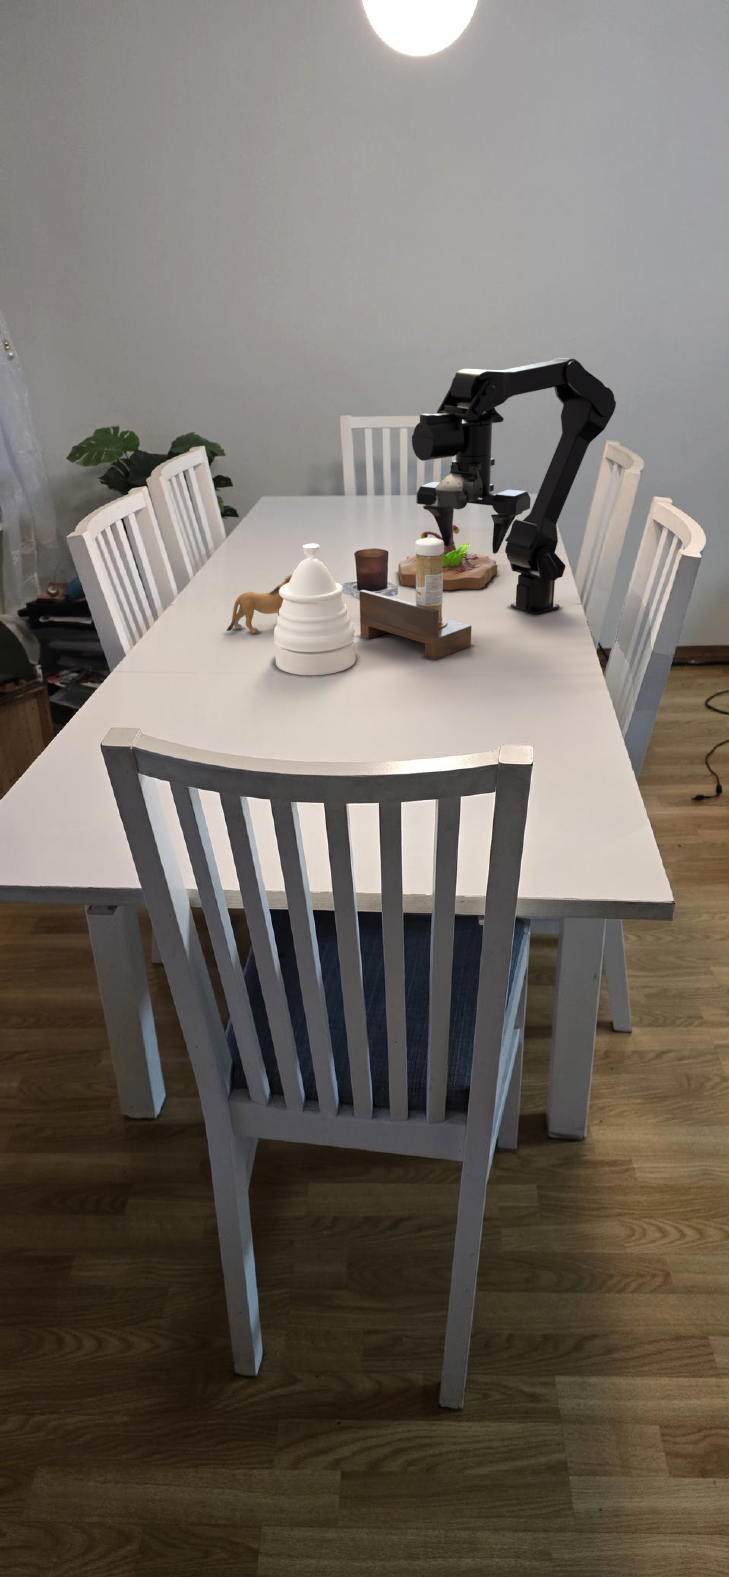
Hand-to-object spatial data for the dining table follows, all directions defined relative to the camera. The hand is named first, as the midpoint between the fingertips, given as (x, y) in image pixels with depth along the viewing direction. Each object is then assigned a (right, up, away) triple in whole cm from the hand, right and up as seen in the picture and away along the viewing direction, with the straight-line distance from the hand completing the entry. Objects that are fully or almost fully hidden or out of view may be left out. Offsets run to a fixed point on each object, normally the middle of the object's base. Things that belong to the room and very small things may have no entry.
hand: (471, 549), depth 167 cm
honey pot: (-26, -20, -8) cm, 34 cm away
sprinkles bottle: (-7, -13, -4) cm, 16 cm away
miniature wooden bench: (-10, -16, -1) cm, 18 cm away
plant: (-1, +2, +32) cm, 32 cm away
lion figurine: (-35, -12, +7) cm, 37 cm away
